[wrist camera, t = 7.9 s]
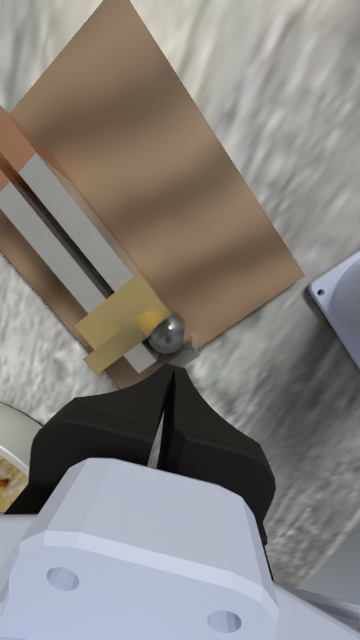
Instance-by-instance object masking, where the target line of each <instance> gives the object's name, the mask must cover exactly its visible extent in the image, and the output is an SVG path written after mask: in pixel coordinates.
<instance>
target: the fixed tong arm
mask: <svg viewBox="0 0 360 640" xmlns="http://www.w3.org/2000/svg"><path fill="white" fill-rule="evenodd" d="M0 209H1V210H2V211H3V212H4V214H5V215H6V216H7V217H8V218H9V219H10V221H11V222H12V223H13V224H14V225H15V227H16V228H17V229H18V230H19V231H20V233H21V234H22V235H23V236H24V237H25V239H26V240H27V241H28V242H29V243H30V245H31V246H32V247H33V248H34V249H35V251H36V252H37V253H38V254H39V255H40V257H41V258H42V259H43V260H44V261H45V262H46V264H47V265H48V266H49V267H50V268H51V270H52V271H53V272H54V273H55V274H56V276H57V277H58V278H59V279H60V280H61V282H62V283H63V284H64V285H65V286H66V288H67V289H68V290H69V291H70V292H71V294H72V295H73V296H74V297H75V298H76V299H77V301H78V302H79V303H80V304H81V305H82V307H83V308H84V309H85V310H86V311H87V313H88V314H89V313H91V312H92V311H93V310H94V309H95V308H97V307H98V306H99V305H100V304H101V303H103V302H104V301H105V300H106V299H107V298H109V297H110V296H111V295H112V294H114V293H115V292H114V290H113V289H112V288H111V287H110V285H109V284H108V283H107V282H106V280H105V279H104V278H103V277H102V276H101V274H100V273H99V272H98V271H97V269H96V268H95V267H94V266H93V264H92V263H91V262H90V261H89V260H88V258H87V257H86V256H85V255H84V253H83V252H82V251H81V250H80V248H79V247H78V246H77V245H76V243H75V242H74V241H73V240H72V239H71V237H70V236H69V235H68V234H67V232H66V231H65V230H64V229H63V227H62V226H61V225H60V224H59V222H58V221H57V220H56V219H55V218H54V216H53V215H52V214H51V213H50V211H49V210H48V209H47V208H46V206H45V205H44V204H43V203H42V201H41V200H40V199H39V198H38V197H37V195H36V194H35V193H34V192H33V190H32V189H31V188H30V187H29V185H28V184H27V183H26V182H25V181H24V179H23V178H22V177H21V176H20V174H19V173H18V172H17V171H16V170H15V169H14V168H13V166H12V165H11V164H10V163H9V161H8V160H7V159H6V158H5V157H4V156H3V155H2V154H0ZM159 354H160V352H158V351H156V350H155V349H154V348H153V347H152V346H151V345H150V343H149V341H148V337H147V338H146V339H145V340H143V341H142V342H140V343H139V344H138V345H136V346H135V347H134V348H132V349H131V350H130V351H128V352H127V353H126V354H124V355H123V356H124V357H125V358H126V359H127V360H128V362H129V363H130V364H131V365H132V366H133V368H134V369H135V370H136V371H137V372H138V374H139V373H140V372H142V371H143V370H144V369H146V368H147V367H149V366H150V365H151V364H152V365H151V367H150V369H149V371H148V373H147V375H146V377H145V378H147V377H148V376H150V375H151V374H153V373H154V372H155V371H157V370H158V369H159V368H160V367H161V366H162V365H163V364H165V363H167V364H171V365H175V366H179V367H183V366H185V365H186V364H188V363H189V362H191V361H192V360H194V359H195V358H197V357H198V356H199V348H198V341H197V340H196V338H195V337H194V336H193V334H191V335H189V336H188V337H187V338H185V339H184V340H183V343H182V345H181V346H180V348H179V349H178V350H176V351H175V352H172V353H164V354H163V355H161V356H160V357H158V356H159Z"/></svg>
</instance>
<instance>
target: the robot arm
mask: <svg viewBox="0 0 360 640" xmlns="http://www.w3.org/2000/svg"><path fill="white" fill-rule="evenodd" d="M308 290H309V292H310V293H311V295H312V297H313V298H314V300H315V301H316V303H317V304H318V306H319V307H320V309H321V311H322V312H323V314H324V315H325V317H326V318H327V320H328V321H329V323H330V325H331V326H332V328H333V329H334V331H335V332H336V334H337V335H338V337H339V339H340V340H341V342H342V343H343V345H344V346H345V348H346V349H347V351H348V353H349V354H350V356H351V357H352V359H353V360H354V362H355V363H356V365H357V367H358V368H359V370H360V250H359V251H357V252H356V253H354V254H353V255H351V256H350V257H348V258H347V259H345V260H344V261H342V262H341V263H339V264H338V265H336V266H335V267H334V268H332V269H331V270H329V271H328V272H326V273H325V274H323V275H322V276H320V277H319V278H317V279H316V280H314V281H313V282H311V283H310V284H309V286H308ZM319 290H321V294H320V295H318V294H317V293H318V291H319ZM163 412H164V418H163V427H162V436H161V446H160V452H159V458H158V463H157V468H156V469H155V468H151V467H147V464H148V460H149V456H150V452H151V449H152V445H153V442H154V439H155V436H156V433H157V430H158V427H159V424H160V421H161V418H162V415H163ZM275 490H276V486H275V478H274V476H273V473H272V471H271V468H270V466H269V463H268V461H267V458H266V456H265V454H264V452H263V450H262V448H261V446H260V444H259V443H257V442H256V441H254V440H253V439H251V438H250V437H248V436H246V435H245V434H243V433H242V432H240V431H239V430H237V429H236V428H235V427H233V426H232V425H231V424H229V423H228V422H227V421H225V420H224V419H223V418H222V417H221V416H220V415H219V414H217V413H216V412H215V411H214V410H213V409H212V408H211V407H210V406H209V405H208V404H207V402H206V401H205V400H204V399H203V398H202V397H201V395H200V394H199V392H198V391H197V390H196V388H195V387H194V385H193V383H192V381H191V380H190V378H189V376H188V374H187V371H186V369H185V368H183V367H179V366H175V365H171V364H167V363H165V364H163V365H162V366H161V367H160V368H159V369H158V370H157V371H155V372H154V373H153V374H151V375H150V376H148V377H147V378H145V379H144V380H142V381H140V382H138V383H136V384H134V385H132V386H129V387H126V388H124V389H121V390H118V391H114V392H110V393H105V394H100V395H94V396H86V397H77V398H74V399H73V400H71V401H70V402H69V403H68V404H66V405H65V406H64V407H63V408H62V409H61V410H60V411H58V412H57V413H56V414H55V415H54V416H53V417H52V418H51V419H50V420H49V421H48V422H47V423H46V424H45V425H44V426H43V427H42V428H41V429H40V430H39V431H38V432H37V434H36V435H35V437H34V439H33V442H32V446H31V452H30V465H29V479H28V485H27V486H26V487H25V488H24V489H23V491H22V492H21V493H20V494H19V496H18V497H17V498H16V499H15V500H14V502H13V503H12V504H11V505H10V507H9V508H8V509H7V510H6V511H5V512H2V511H0V640H360V605H358V604H354V603H350V602H346V601H342V600H339V599H335V598H331V597H327V596H323V595H320V594H316V593H312V592H308V591H304V590H300V589H297V588H293V587H289V586H285V585H281V584H277V583H276V582H274V579H273V576H272V572H271V569H270V565H269V561H268V558H267V554H266V551H265V547H264V546H266V544H267V536H266V532H265V529H264V526H263V520H264V518H265V516H266V514H267V511H268V509H269V507H270V505H271V502H272V500H273V497H274V494H275Z"/></svg>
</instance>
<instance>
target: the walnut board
mask: <svg viewBox="0 0 360 640" xmlns="http://www.w3.org/2000/svg"><path fill="white" fill-rule="evenodd" d="M10 115H11V116H12V117H13V118H14V119H15V120H17V121H18V122H19V123H20V124H21V125H22V126H23V127H24V128H25V129H26V130H27V131H28V132H29V133H30V134H32V135H33V136H34V137H35V138H36V139H37V140H38V141H39V142H40V143H41V144H42V145H43V146H44V148H45V149H46V150H47V151H48V153H49V154H50V155H51V157H52V158H53V159H54V160H55V162H56V163H57V164H58V166H59V167H60V168H61V169H62V171H63V172H64V173H65V175H66V176H67V177H68V178H69V180H70V182H71V183H72V184H73V185H74V187H75V188H76V189H77V191H78V192H79V193H80V194H81V196H82V197H83V198H84V200H85V201H86V202H87V203H88V205H89V206H90V207H91V209H92V210H93V211H94V212H95V214H96V215H97V216H98V218H99V219H100V220H101V221H102V223H103V224H104V225H105V227H106V228H107V229H108V230H109V232H110V233H111V234H112V236H113V237H114V238H115V239H116V241H117V242H118V243H119V245H120V246H121V247H122V248H123V250H124V251H125V252H126V254H127V255H128V256H129V257H130V259H131V260H132V261H133V263H134V264H135V265H136V267H137V268H138V269H139V270H140V272H141V273H143V275H144V276H145V277H146V279H147V280H148V281H149V282H150V284H151V285H152V286H153V288H154V289H155V290H156V292H157V293H158V294H159V295H160V297H161V298H162V299H163V301H164V302H165V303H166V305H167V306H168V307H169V309H170V310H171V311H172V312H175V313H178V314H179V315H180V316H181V317H182V318H183V319H184V322H185V332H184V339H185V338H187V337H188V336H189V335H191V334H193V336H194V337H195V338H196V340H197V341H198V348H200V347H202V346H203V345H205V344H206V343H208V342H209V341H211V340H212V339H214V338H215V337H216V336H218V335H219V334H221V333H222V332H224V331H225V330H227V329H228V328H230V327H231V326H232V325H234V324H235V323H237V322H238V321H240V320H241V319H243V318H244V317H246V316H247V315H248V314H250V313H251V312H253V311H254V310H256V309H257V308H259V307H260V306H262V305H263V304H265V303H266V302H267V301H269V300H270V299H272V298H273V297H275V296H276V295H278V294H279V293H281V292H282V291H283V290H285V289H286V288H288V287H289V286H291V285H292V284H294V283H295V282H297V281H298V280H299V279H301V278H302V277H304V276H305V275H304V273H303V272H302V270H301V268H300V267H299V265H298V264H297V262H296V261H295V259H294V258H293V256H292V254H291V253H290V251H289V250H288V248H287V247H286V245H285V243H284V242H283V240H282V239H281V237H280V236H279V234H278V232H277V231H276V229H275V228H274V226H273V225H272V223H271V222H270V220H269V218H268V217H267V215H266V214H265V212H264V211H263V209H262V207H261V206H260V204H259V203H258V201H257V200H256V198H255V196H254V195H253V193H252V192H251V190H250V189H249V187H248V186H247V184H246V182H245V181H244V179H243V178H242V176H241V175H240V173H239V171H238V170H237V168H236V167H235V165H234V164H233V162H232V160H231V159H230V157H229V156H228V154H227V153H226V151H225V149H224V148H223V146H222V145H221V143H220V142H219V140H218V139H217V137H216V135H215V134H214V132H213V131H212V129H211V128H210V126H209V124H208V123H207V121H206V120H205V118H204V117H203V115H202V113H201V112H200V110H199V109H198V107H197V106H196V104H195V103H194V101H193V99H192V98H191V96H190V95H189V93H188V92H187V90H186V88H185V87H184V85H183V84H182V82H181V81H180V79H179V77H178V76H177V74H176V73H175V71H174V70H173V68H172V67H171V65H170V63H169V62H168V60H167V59H166V57H165V56H164V54H163V52H162V51H161V49H160V48H159V46H158V45H157V43H156V41H155V40H154V38H153V37H152V35H151V34H150V32H149V31H148V29H147V27H146V26H145V24H144V23H143V21H142V20H141V18H140V16H139V15H138V13H137V12H136V10H135V9H134V7H133V5H132V4H131V2H130V1H129V0H103V2H102V3H101V4H100V5H99V6H98V8H97V9H96V10H95V11H94V13H93V14H92V15H91V16H90V17H89V19H88V20H87V21H86V22H85V23H84V25H83V26H82V27H81V28H80V29H79V31H78V32H77V33H76V34H75V35H74V37H73V38H72V39H71V40H70V41H69V43H68V44H67V45H66V46H65V48H64V49H63V50H62V51H61V52H60V54H59V55H58V56H57V57H56V58H55V60H54V61H53V62H52V63H51V64H50V66H49V67H48V68H47V69H46V70H45V72H44V73H43V74H42V75H41V77H40V78H39V79H38V80H37V81H36V83H35V84H34V85H33V86H32V87H31V89H30V90H29V91H28V92H27V93H26V95H25V96H24V97H23V98H22V99H21V101H20V102H19V103H18V104H17V106H16V107H15V108H14V109H13V110H12V112H11V113H10ZM0 154H2V153H1V152H0ZM2 155H3V154H2ZM3 156H4V155H3ZM0 250H1V252H2V253H3V254H4V255H5V256H6V257H7V259H8V260H9V261H10V262H11V263H12V264H13V266H14V267H15V268H16V269H17V270H18V271H19V272H20V274H21V275H22V276H23V277H24V278H25V279H26V281H27V282H28V283H29V284H30V285H31V286H32V287H33V289H34V290H35V291H36V292H37V293H38V294H39V296H40V297H41V298H42V299H43V300H44V301H45V303H46V304H47V305H48V306H49V307H50V308H51V309H52V311H53V312H54V313H55V314H56V315H57V316H58V318H59V319H60V320H61V321H62V322H63V323H64V324H65V326H66V327H67V328H68V329H69V330H70V331H71V333H72V334H73V335H74V336H75V337H76V338H77V340H78V341H79V342H80V343H81V344H82V345H83V346H84V348H85V349H86V350H87V351H88V352H89V353H91V352H93V351H94V349H93V348H92V347H91V346H90V345H89V343H88V342H87V341H86V340H85V339H84V338H83V336H82V335H81V334H80V333H79V332H78V331H77V329H76V327H75V325H76V324H77V323H79V322H80V321H81V320H82V319H83V318H85V317H86V316H87V315H88V313H87V311H86V310H85V309H84V308H83V307H82V305H81V304H80V303H79V302H78V301H77V299H76V298H75V297H74V296H73V295H72V294H71V292H70V291H69V290H68V289H67V288H66V286H65V285H64V284H63V283H62V282H61V280H60V279H59V278H58V277H57V276H56V274H55V273H54V272H53V271H52V270H51V268H50V267H49V266H48V265H47V264H46V262H45V261H44V260H43V259H42V258H41V257H40V255H39V254H38V253H37V252H36V251H35V249H34V248H33V247H32V246H31V245H30V243H29V242H28V241H27V240H26V239H25V237H24V236H23V235H22V234H21V233H20V231H19V230H18V229H17V228H16V227H15V225H14V224H13V223H12V222H11V221H10V219H9V218H8V217H7V216H6V215H5V214H4V212H3V211H2V210H1V209H0ZM184 339H183V340H184ZM163 354H164V353H160V354H159V356H158V357H160V356H161V355H163ZM151 365H152V364H151ZM151 365H150V366H149V367H147V368H146V369H144V370H143V371H142V372H140V373H139V374H138V372H137V371H136V370H135V369H134V368H133V366H132V365H131V364H130V363H129V362H128V360H127V359H126V358H125V357H124V356H122V357H120V358H119V359H118V360H116V361H115V362H114V363H112V364H111V365H110V366H108V367H107V368H105V369H104V371H105V372H106V373H107V374H108V375H109V377H110V378H111V379H112V380H113V381H114V382H115V383H116V385H117V386H118V387H119V388H120V389H124V388H126V387H129V386H132V385H134V384H136V383H138V382H140V381H142V380H144V379H145V377H146V375H147V373H148V371H149V369H150V367H151Z"/></svg>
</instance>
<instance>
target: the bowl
mask: <svg viewBox="0 0 360 640" xmlns="http://www.w3.org/2000/svg"><path fill="white" fill-rule="evenodd" d="M41 428H42V426H41V425H39V424H38V423H37V422H35V421H34V420H32V419H31V418H29V417H28V416H26V415H24V414H23V413H21V412H19V411H17V410H15V409H13V408H11V407H9V406H7V405H5V404H3V403H0V511H2V512H5V511H6V510H7V509H8V508H9V507H10V505H11V504H12V503H13V502H14V500H15V499H16V498H17V497H18V496H19V494H20V493H21V492H22V491H23V489H24V488H25V487H26V486H27V485H28V479H29V465H30V452H31V446H32V442H33V439H34V437H35V435H36V434H37V432H38V431H39V430H40V429H41Z"/></svg>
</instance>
